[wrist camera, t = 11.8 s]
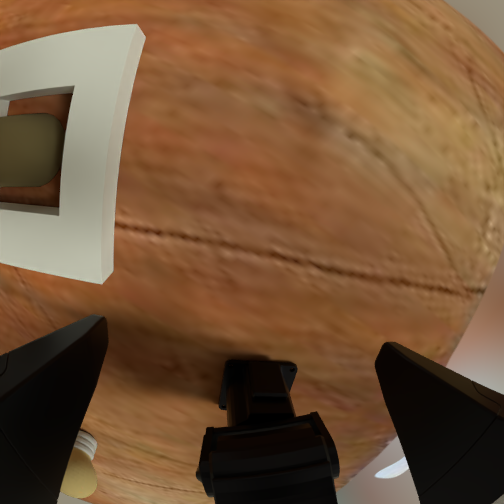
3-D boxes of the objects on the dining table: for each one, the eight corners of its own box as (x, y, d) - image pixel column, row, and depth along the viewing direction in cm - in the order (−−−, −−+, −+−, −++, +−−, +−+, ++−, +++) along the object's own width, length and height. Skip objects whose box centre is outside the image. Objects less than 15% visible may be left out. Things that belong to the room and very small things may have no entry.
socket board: (113, 271, 20) (101, 284, 18) (-19, 245, 18) (-34, 253, 16) (145, 37, 15) (137, 24, 13) (-2, 61, 13) (-17, 56, 11)
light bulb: (96, 453, 28) (81, 507, 19) (58, 429, 26) (37, 482, 17) (115, 442, 27) (100, 504, 18) (73, 415, 25) (49, 476, 16)
